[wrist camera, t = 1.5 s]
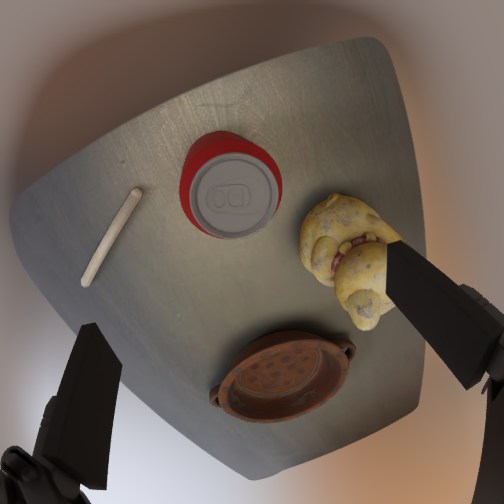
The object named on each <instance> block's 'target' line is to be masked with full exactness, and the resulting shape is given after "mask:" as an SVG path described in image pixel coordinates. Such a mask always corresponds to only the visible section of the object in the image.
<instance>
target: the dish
mask: <svg viewBox="0 0 504 504" xmlns="http://www.w3.org/2000/svg"><path fill="white" fill-rule="evenodd" d="M344 347H346V348H348V349H347V350H346V351H345V352H344V351H343V350H342V349H341V348H344ZM355 354H356V347H355V345H354V344H353V343H352V342H351V341H350V340H349V339H346V338H335V339H329V340H325V339H323V338H321V337H319V336H317V335H315V334H312V333H309V332H306V331H299V330H291V331H281V332H277V333H273V334H269V335H266V336H264V337H261V338H259V339H257V340H255V341H253V342H252V343H250V344H249V345H247V346H246V347H245V348H243V349H242V350H241V351H240V352H239V354H238V355H237V356H236V357H235V359H234V360H233V362H232V363H231V365H230V367H229V369H228V372H227V374H226V376H225V378H224V379H223V381H222V383H221V384H219V385H217V386H215V387H214V388H213V389H212V390H211V391H210V393H209V396H210V403H211V404H212V405H214V406H215V407H220V408H223V410H224V411H225V412H226V413H228V414H230V415H232V416H234V417H236V418H238V419H241V420H244V421H247V422H252V423H277V422H282V421H286V420H290V419H293V418H296V417H299V416H302V415H304V414H306V413H309V412H311V411H313V410H314V409H316V408H318V407H320V406H321V405H323V404H324V403H326V402H327V401H328V400H329V399H330V398H332V397H333V396H334V395H335V394H336V393H337V392H338V391H339V389H340V388H341V387H342V385H343V384H344V382H345V380H346V377H347V374H348V369H349V362H350V361H351V360H352V358H353V357H354V356H355Z"/></svg>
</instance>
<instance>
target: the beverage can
mask: <svg viewBox="0 0 504 504" xmlns="http://www.w3.org/2000/svg"><path fill="white" fill-rule="evenodd" d="M179 195H180V202H181V205H182V208H183V210H184V213H185V214H186V216H187V218H188V219H189V220H190V221H191V223H192V224H193V225H194V226H195V227H197V228H198V229H199V230H201V231H202V232H204V233H206V234H208V235H210V236H213V237H217V238H222V239H241V238H245V237H248V236H251V235H253V234H255V233H257V232H258V231H260V230H261V229H262V228H263V227H265V226H266V225H267V223H268V222H269V221H270V220H271V219H272V217H273V216H274V214H275V213H276V211H277V209H278V207H279V204H280V201H281V196H282V178H281V174H280V171H279V169H278V166H277V165H276V163H275V161H274V160H273V158H272V157H271V156H270V155H269V154H268V153H267V152H266V151H265V150H263V149H262V148H261V147H259V146H257V145H256V144H254V143H253V142H251V141H249V140H247V139H245V138H243V137H241V136H239V135H237V134H234V133H231V132H227V131H216V132H211V133H208V134H206V135H204V136H202V137H201V138H199V139H198V140H197V141H196V142H195V143H194V144H193V145H192V146H191V148H190V149H189V151H188V154H187V156H186V159H185V162H184V166H183V170H182V174H181V180H180V186H179Z"/></svg>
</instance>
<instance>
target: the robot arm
mask: <svg viewBox="0 0 504 504" xmlns="http://www.w3.org/2000/svg"><path fill="white" fill-rule="evenodd" d="M385 294H386V295H387V296H388V297H389V298H390V300H391V301H392V302H393V303H394V304H395V305H396V306H397V307H398V308H399V310H400V311H401V312H402V313H403V314H404V315H405V316H406V318H407V319H408V320H409V321H410V322H411V323H412V324H413V326H414V327H415V328H416V329H417V330H418V331H419V333H420V334H421V335H422V336H423V337H424V339H425V340H426V341H427V342H428V343H429V344H430V346H431V347H432V348H433V349H434V350H435V352H436V353H437V354H438V355H439V357H440V358H441V359H442V360H443V361H444V363H445V364H446V365H447V366H448V368H449V369H450V370H451V371H452V372H453V374H454V375H455V377H456V378H457V379H458V380H459V382H460V383H461V384H462V385H463V387H464V388H465V389H466V390H468V389H470V388H471V387H473V386H474V385H475V384H477V383H478V382H480V381H481V379H482V377H483V375H484V373H485V371H486V372H487V373H488V374H489V375H490V376H489V378H488V380H487V382H486V384H485V385H484V387H483V389H482V392H481V394H484V392H485V391H486V389H488V390H487V410H486V423H485V432H484V441H483V448H482V455H481V461H480V467H479V472H478V477H477V482H476V487H475V491H474V495H473V500H472V503H471V504H504V314H502V313H501V312H500V311H499V310H498V309H497V308H496V307H495V306H494V305H492V304H491V303H489V301H488V300H487V299H485V298H483V296H482V295H481V294H480V293H479V292H477V291H476V290H475V289H474V288H471V287H469V286H467V285H465V284H462V285H459V286H458V285H457V284H456V283H454V282H453V281H452V280H451V279H450V278H449V277H447V276H446V275H445V274H444V273H443V272H441V271H440V270H439V269H438V268H436V267H435V266H434V265H433V264H431V263H430V262H429V261H428V260H426V259H425V258H424V257H423V256H421V255H420V254H419V253H418V252H416V251H415V250H414V249H412V248H411V247H410V246H408V245H407V244H406V243H404V242H403V241H402V240H398V241H395V242H392V243H389V244H387V271H386V292H385ZM121 371H122V364H121V362H120V361H119V359H118V358H117V356H116V355H115V353H114V352H113V350H112V349H111V347H110V345H109V344H108V342H107V341H106V339H105V337H104V336H103V334H102V333H101V331H100V329H99V328H98V326H97V324H96V323H90V324H86V325H82V326H81V328H80V331H79V333H78V336H77V339H76V341H75V344H74V346H73V349H72V352H71V354H70V357H69V360H68V363H67V365H66V369H65V371H64V374H63V377H62V380H61V383H60V386H59V389H58V392H57V396H52V398H51V399H50V401H49V402H48V404H47V405H46V408H45V411H44V414H43V419H42V421H41V424H40V425H41V427H40V428H39V432H38V435H37V439H36V443H35V447H34V451H33V455H32V456H31V455H29V454H28V453H27V452H25V451H24V450H23V449H22V448H20V447H19V446H11V447H9V448H8V449H7V450H6V451H5V452H4V454H3V456H2V458H1V470H0V504H91V503H90V501H89V500H88V498H87V497H86V495H85V494H84V493H83V492H82V491H81V490H80V483H81V484H82V485H84V486H85V487H87V488H89V489H93V490H107V475H108V464H109V452H110V444H111V435H112V427H113V420H114V413H115V406H116V399H117V394H118V388H119V382H120V376H121ZM487 387H488V388H487ZM2 470H3V471H4V472H3V471H2ZM5 472H6V473H7V474H6V473H5Z"/></svg>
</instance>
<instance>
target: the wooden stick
mask: <svg viewBox="0 0 504 504" xmlns="http://www.w3.org/2000/svg"><path fill="white" fill-rule="evenodd" d="M141 197H142V192H141V190H139V189H133V190H132V191H131V192H130V194H129V196H128V197H127V199H126V200H125V202H124V204H123V205H122V207H121V208H120V210H119V212H118V213H117V215H116V217H115V218H114V220H113V222H112V223H111V225H110V227H109V229H108V230H107V232H106V234H105V236H104V237H103V239H102V241H101V243H100V245H99V246H98V248H97V250H96V252H95V254H94V256H93V258H92V259H91V261H90V263H89V265H88V267H87V269H86V271H85V273H84V275H83V277H82V279H81V285H82V286H83V287H88V286H89V285H90V284H91V282H92V280H93V278H94V276H95V274H96V272H97V271H98V269H99V267H100V265H101V263H102V262H103V260H104V258H105V256H106V254H107V253H108V251H109V249H110V248H111V246H112V244H113V242H114V241H115V239H116V237H117V236H118V234H119V232H120V231H121V229H122V227H123V226H124V224H125V222H126V221H127V219H128V218H129V216H130V214H131V213H132V211H133V210H134V208H135V207H136V205H137V204H138V202H139V200H140V199H141Z"/></svg>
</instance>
